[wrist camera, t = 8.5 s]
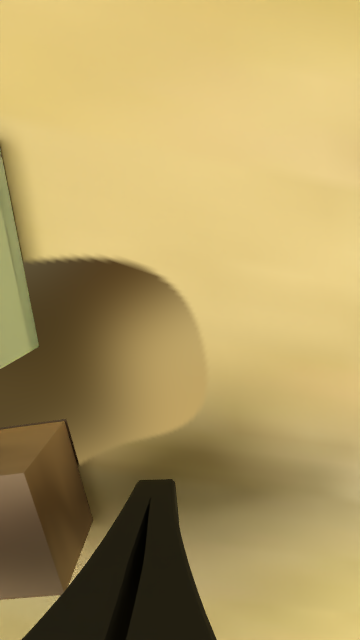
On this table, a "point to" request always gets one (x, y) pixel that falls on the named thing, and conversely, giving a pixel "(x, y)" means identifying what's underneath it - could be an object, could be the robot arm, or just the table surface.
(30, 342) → the tray
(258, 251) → the table surface
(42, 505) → the brown rectangular block
